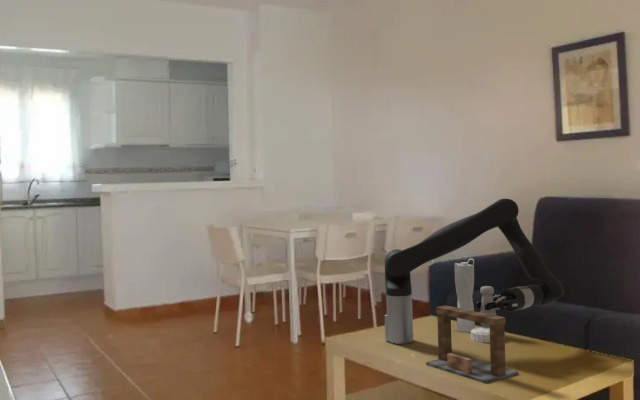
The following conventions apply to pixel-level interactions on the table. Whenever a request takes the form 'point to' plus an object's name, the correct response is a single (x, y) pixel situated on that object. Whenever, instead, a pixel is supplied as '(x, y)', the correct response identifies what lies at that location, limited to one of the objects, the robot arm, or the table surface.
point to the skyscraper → (464, 293)
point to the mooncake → (481, 334)
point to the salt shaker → (487, 298)
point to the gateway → (465, 364)
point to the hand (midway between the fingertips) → (481, 306)
